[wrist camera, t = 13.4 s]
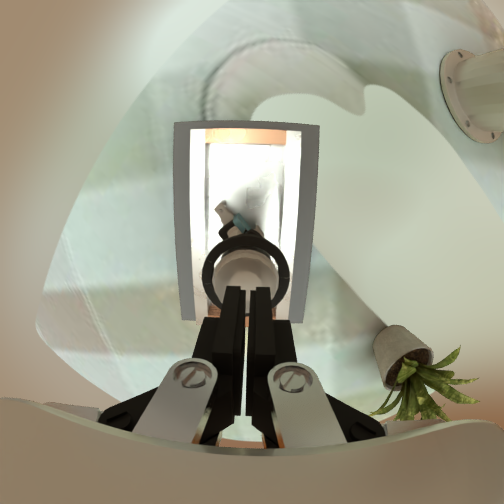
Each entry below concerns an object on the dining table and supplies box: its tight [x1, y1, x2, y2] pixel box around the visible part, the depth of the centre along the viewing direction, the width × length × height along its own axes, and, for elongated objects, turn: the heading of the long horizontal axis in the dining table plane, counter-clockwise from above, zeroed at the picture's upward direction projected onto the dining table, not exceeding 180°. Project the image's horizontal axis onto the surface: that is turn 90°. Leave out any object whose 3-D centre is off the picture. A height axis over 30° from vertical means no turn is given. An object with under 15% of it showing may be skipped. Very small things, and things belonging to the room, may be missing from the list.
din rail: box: [190, 128, 301, 327], centre depth 24 cm, size 9×18×2 cm, turn 178°
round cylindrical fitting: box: [202, 203, 290, 317], centre depth 20 cm, size 7×5×10 cm
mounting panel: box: [173, 121, 320, 323], centre depth 26 cm, size 13×20×1 cm, turn 178°
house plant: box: [368, 325, 480, 422], centre depth 23 cm, size 14×14×16 cm
